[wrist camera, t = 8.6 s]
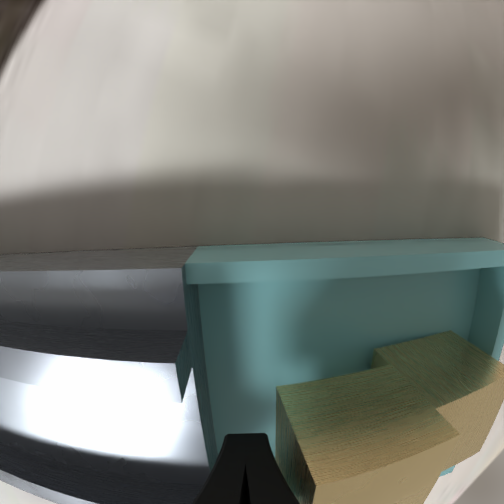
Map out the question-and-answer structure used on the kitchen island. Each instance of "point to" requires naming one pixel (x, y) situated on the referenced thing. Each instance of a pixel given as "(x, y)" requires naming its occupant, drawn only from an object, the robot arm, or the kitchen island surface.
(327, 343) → the tray
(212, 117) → the kitchen island surface
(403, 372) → the chip
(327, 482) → the wooden cube
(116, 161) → the kitchen island surface
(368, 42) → the kitchen island surface
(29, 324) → the slot block
